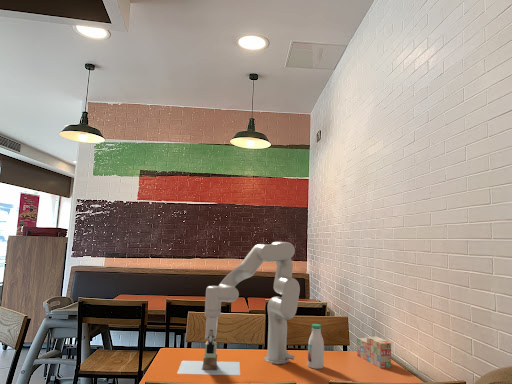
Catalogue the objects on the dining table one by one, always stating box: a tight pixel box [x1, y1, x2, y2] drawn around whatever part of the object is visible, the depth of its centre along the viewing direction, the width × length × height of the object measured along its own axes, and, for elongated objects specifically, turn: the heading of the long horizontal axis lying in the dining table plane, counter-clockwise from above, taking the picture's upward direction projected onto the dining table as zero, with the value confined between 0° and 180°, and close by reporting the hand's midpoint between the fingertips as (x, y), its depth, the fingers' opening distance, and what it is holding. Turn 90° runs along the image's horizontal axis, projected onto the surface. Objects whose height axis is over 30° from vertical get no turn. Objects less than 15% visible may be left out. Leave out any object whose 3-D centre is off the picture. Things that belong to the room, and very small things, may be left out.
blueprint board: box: [176, 360, 241, 376], centre depth 182 cm, size 28×18×1 cm, turn 93°
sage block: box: [204, 340, 218, 358], centre depth 182 cm, size 5×5×6 cm
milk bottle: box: [307, 323, 325, 370], centre depth 192 cm, size 8×8×20 cm
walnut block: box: [202, 353, 218, 370], centre depth 182 cm, size 6×6×5 cm
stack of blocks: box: [356, 336, 392, 369], centre depth 204 cm, size 21×6×12 cm, turn 18°
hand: (210, 350), depth 182 cm, fingers open, 9 cm apart
